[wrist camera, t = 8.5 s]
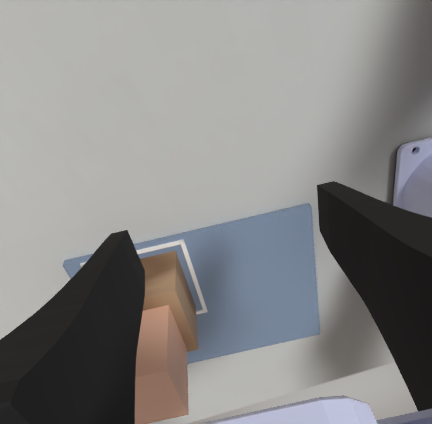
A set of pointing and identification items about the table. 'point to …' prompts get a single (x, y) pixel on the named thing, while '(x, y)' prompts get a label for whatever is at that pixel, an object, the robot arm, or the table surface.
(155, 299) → the walnut block
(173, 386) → the terracotta block
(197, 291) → the blueprint plate
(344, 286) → the table surface
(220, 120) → the table surface
